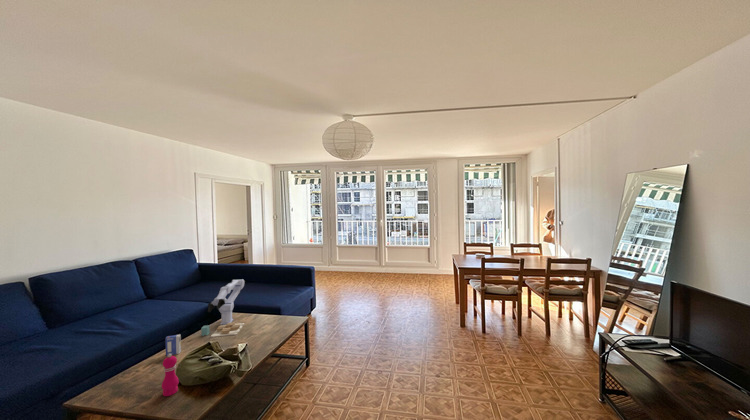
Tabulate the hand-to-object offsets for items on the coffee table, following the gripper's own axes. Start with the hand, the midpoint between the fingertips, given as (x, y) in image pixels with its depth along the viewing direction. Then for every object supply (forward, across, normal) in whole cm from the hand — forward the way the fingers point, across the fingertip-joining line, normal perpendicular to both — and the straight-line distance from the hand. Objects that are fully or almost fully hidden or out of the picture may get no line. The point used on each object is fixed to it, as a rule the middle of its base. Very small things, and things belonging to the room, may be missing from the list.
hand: (212, 310), depth 212 cm
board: (+3, +1, +21) cm, 21 cm away
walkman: (+33, -13, +1) cm, 36 cm away
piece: (+8, -11, +13) cm, 19 cm away
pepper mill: (+71, +16, -6) cm, 73 cm away
